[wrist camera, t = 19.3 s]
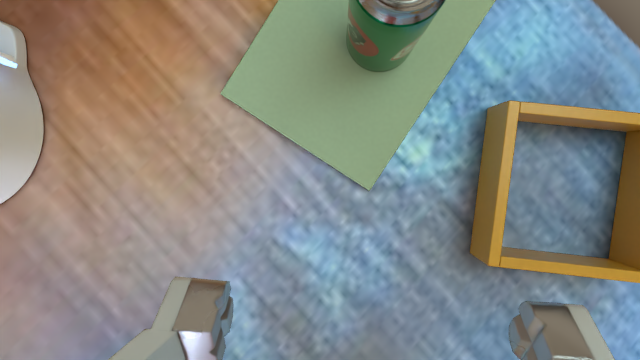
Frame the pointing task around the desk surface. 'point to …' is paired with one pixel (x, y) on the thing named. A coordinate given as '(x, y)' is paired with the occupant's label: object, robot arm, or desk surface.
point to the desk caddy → (494, 180)
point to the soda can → (386, 30)
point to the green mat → (344, 82)
